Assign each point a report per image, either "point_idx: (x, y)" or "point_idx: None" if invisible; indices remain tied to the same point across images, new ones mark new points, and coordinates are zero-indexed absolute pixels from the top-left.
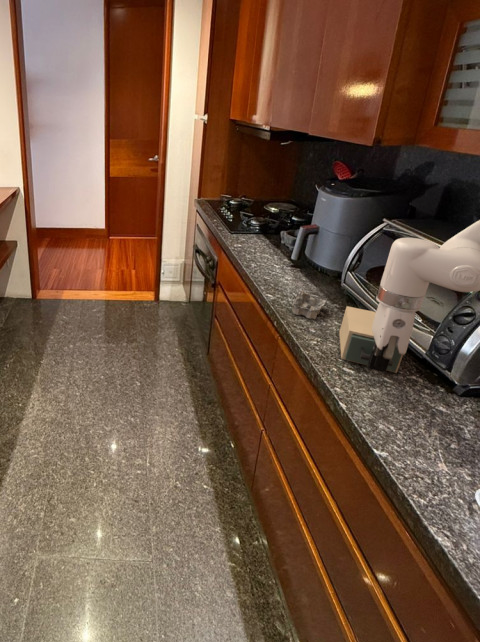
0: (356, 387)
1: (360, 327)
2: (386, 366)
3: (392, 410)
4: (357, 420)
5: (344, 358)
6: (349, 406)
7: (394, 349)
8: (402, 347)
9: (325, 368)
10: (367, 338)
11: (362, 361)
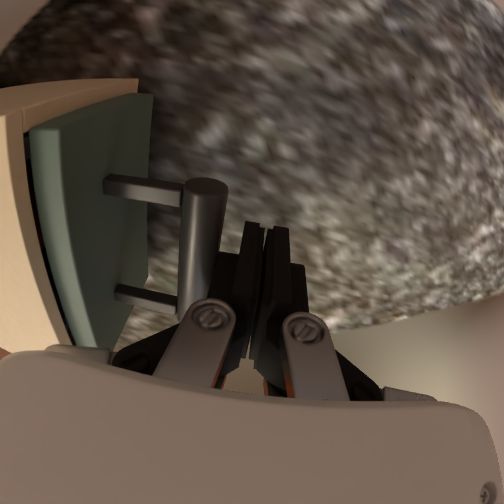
0: (310, 269)
1: (15, 333)
2: (288, 253)
3: (423, 193)
4: (452, 301)
5: None
6: (406, 308)
7: (78, 175)
8: (484, 492)
9: None
10: (72, 319)
11: (142, 231)
